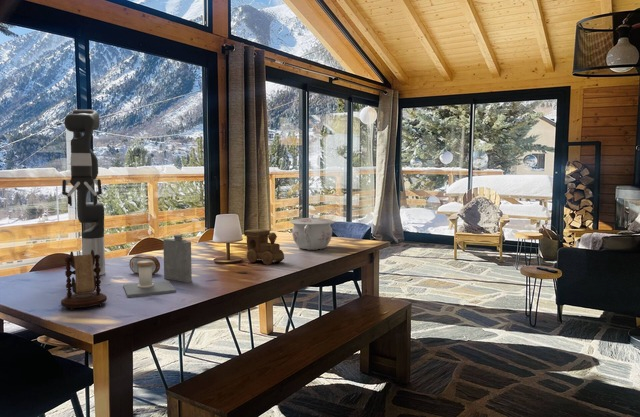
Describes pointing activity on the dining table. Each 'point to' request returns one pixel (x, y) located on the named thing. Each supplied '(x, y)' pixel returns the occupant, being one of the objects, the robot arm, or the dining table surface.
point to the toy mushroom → (145, 274)
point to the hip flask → (177, 259)
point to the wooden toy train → (262, 246)
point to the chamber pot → (312, 232)
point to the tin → (144, 258)
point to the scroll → (83, 281)
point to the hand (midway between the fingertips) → (82, 205)
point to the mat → (149, 289)
